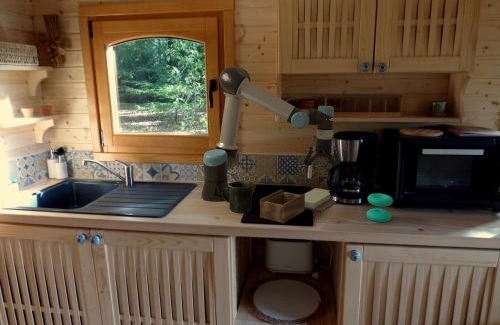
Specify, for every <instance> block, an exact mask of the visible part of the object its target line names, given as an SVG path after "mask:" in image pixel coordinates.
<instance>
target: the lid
mask: <svg viewBox="0 0 500 325" xmlns="http://www.w3.org/2000/svg"><path fill="white" fill-rule="evenodd" d="M308 191H309V192H308ZM308 191H307V192H308V193H307V192H305V193H306V194H305V193H304V194H305V207H309V208H316V207H317V206H319V205H320V204H322V203H324V202H325V201H327V200H329V199H330V193H329V191H330V190H328V189H324V188H317V187H315V188H313V189H311V191H310V190H308Z"/></svg>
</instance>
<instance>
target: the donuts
mask: <svg viewBox="0 0 500 325" xmlns="http://www.w3.org/2000/svg"><path fill="white" fill-rule="evenodd" d="M367 202H368V203H369V204H371V205H373V206H375V208H374V207H373V208H371V209H369V210H367V211H366V217H367V219H369V220H371V221H373V222H376V223H386V222H389V221H390V220H392V213H390V211H388V210H386V209H384V208H385V207H389V206H391V205H392V204H393V202H394V200H393V197H392V196H390V195H388V194H385V193H379V192H378V193H370V194H369V195H368V196H367ZM377 207H379V208H377ZM381 207H384V208H381Z"/></svg>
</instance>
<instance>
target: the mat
mask: <svg viewBox="0 0 500 325" xmlns="http://www.w3.org/2000/svg"><path fill="white" fill-rule="evenodd" d="M311 190H312V189H311ZM311 190H308V191H307V192H305V193H304V194H306V193H308V192H309V191H311ZM336 203H337V202H336V201H334V200H331V199H329V200H327V201H325V202H324V203H322V204H320V205H319V206H317V207H316V208H309V207H305V210H309V211H312V212H313V211H314V212H317V213H322V212H324V211H326V210H327V209H328V208H330V207H331V206H333V205H334V204H336Z"/></svg>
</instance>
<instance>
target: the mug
mask: <svg viewBox="0 0 500 325" xmlns="http://www.w3.org/2000/svg"><path fill="white" fill-rule="evenodd" d="M228 186H229V187H227V188H224V189H223V190H222V196H223V199H224V200H223V201H225V202H226V203H228V204H229V210H230V211H231V212H233V213H237V214H244V213H249V212H251V211H252V210H253V187H254V184H253V182H251V181H250V182H249V181H245V180H244V181H243V180H241V181H232V182H231V181H230V183H229V182H228ZM224 190H229V199H227V198H226V197H225V194H224Z"/></svg>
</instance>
